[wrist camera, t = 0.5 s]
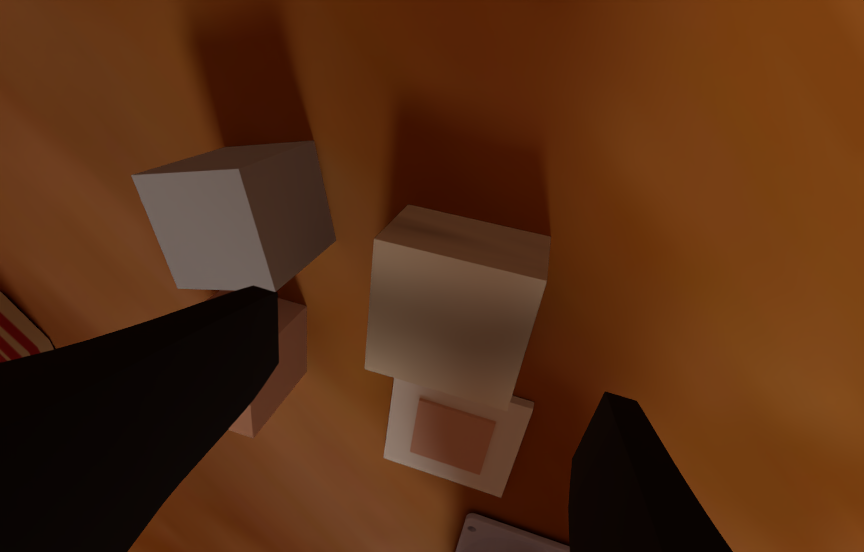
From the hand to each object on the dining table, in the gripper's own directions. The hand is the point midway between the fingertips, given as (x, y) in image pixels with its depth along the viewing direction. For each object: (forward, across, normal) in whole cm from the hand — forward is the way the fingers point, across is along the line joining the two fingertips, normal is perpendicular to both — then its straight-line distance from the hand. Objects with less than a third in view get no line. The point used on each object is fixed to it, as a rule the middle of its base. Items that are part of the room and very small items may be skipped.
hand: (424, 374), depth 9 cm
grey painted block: (+10, +10, +1) cm, 14 cm away
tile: (+10, -1, +12) cm, 16 cm away
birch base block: (+10, 0, +3) cm, 10 cm away
